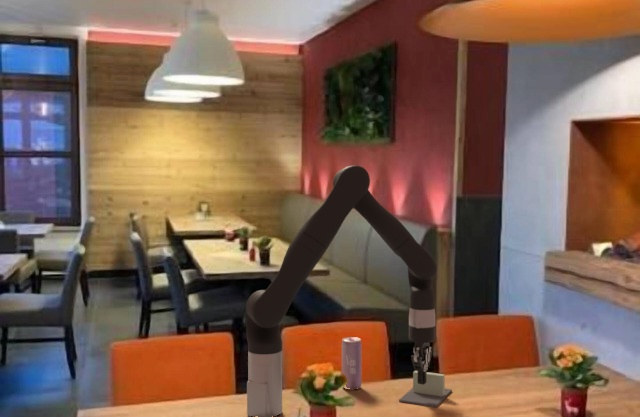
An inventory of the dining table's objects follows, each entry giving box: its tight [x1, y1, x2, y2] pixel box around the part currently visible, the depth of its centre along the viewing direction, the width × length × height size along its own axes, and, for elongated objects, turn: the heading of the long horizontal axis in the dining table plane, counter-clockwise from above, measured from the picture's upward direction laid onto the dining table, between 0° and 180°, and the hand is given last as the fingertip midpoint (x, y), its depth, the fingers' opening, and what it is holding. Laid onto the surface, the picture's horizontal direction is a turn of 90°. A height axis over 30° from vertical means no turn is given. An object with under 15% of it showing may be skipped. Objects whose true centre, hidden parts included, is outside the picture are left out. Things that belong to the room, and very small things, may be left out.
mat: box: [398, 387, 453, 408], centre depth 196 cm, size 16×11×1 cm
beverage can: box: [341, 336, 362, 389], centre depth 204 cm, size 6×6×15 cm
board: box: [412, 370, 446, 396], centre depth 197 cm, size 2×9×6 cm, turn 64°
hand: (421, 383), depth 191 cm, fingers closed
